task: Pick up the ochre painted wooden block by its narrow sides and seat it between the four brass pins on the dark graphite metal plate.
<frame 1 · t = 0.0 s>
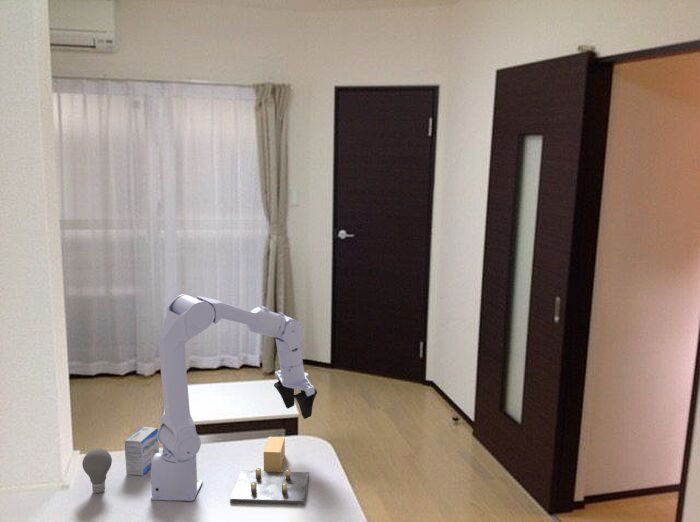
hand: (298, 411, 156), 11 cm above the table, tool pointing down, fingers open, 7 cm apart
ochre block: (274, 463, 152), on the table
chassis plate: (271, 489, 140), on the table
medicine box: (143, 468, 149), on the table
light bulb: (99, 492, 138), on the table
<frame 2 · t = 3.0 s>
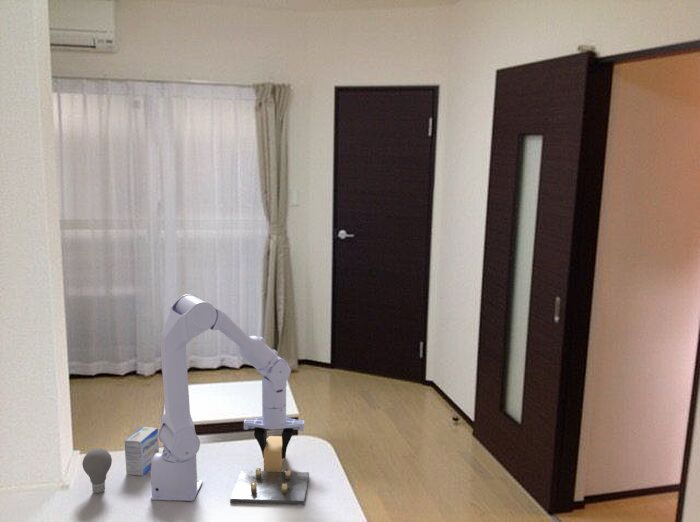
hand: (274, 456, 152), 2 cm above the table, tool pointing down, fingers closed on ochre block, 4 cm apart
ochre block: (274, 462, 152), on the table, touching gripper
everything else where it was.
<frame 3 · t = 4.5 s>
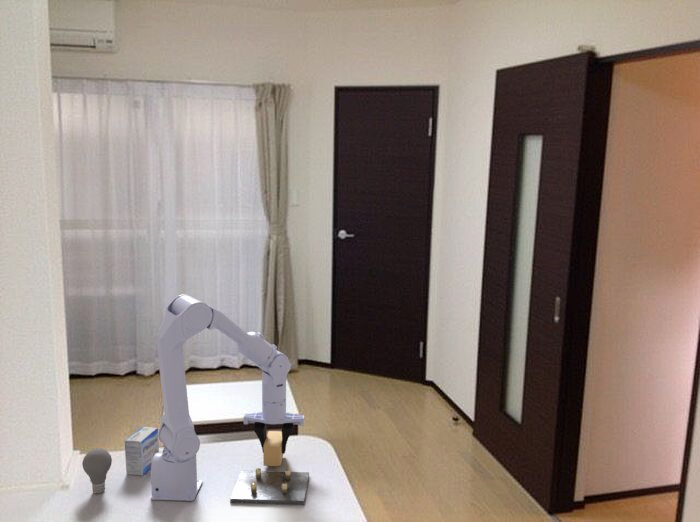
hand: (274, 451, 152), 3 cm above the table, tool pointing down, fingers closed on ochre block, 4 cm apart
ochre block: (274, 457, 152), point 1 cm above the table, touching gripper
everything else where it was.
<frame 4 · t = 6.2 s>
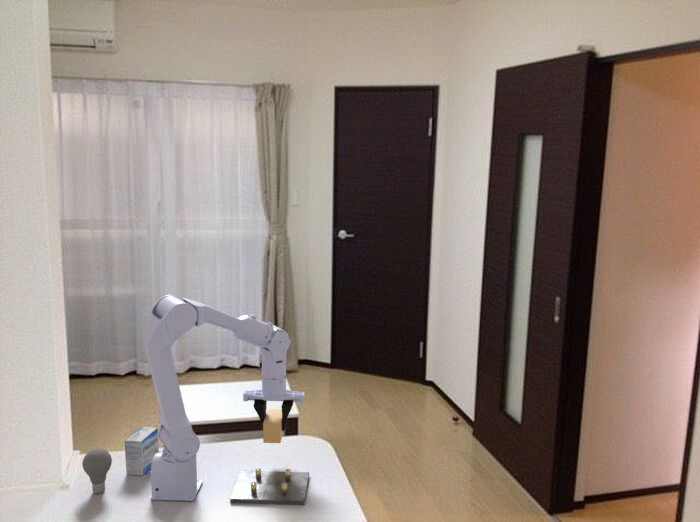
hand: (274, 429, 150), 9 cm above the table, tool pointing down, fingers closed on ochre block, 4 cm apart
ochre block: (274, 435, 151), point 7 cm above the table, touching gripper
everything else where it was.
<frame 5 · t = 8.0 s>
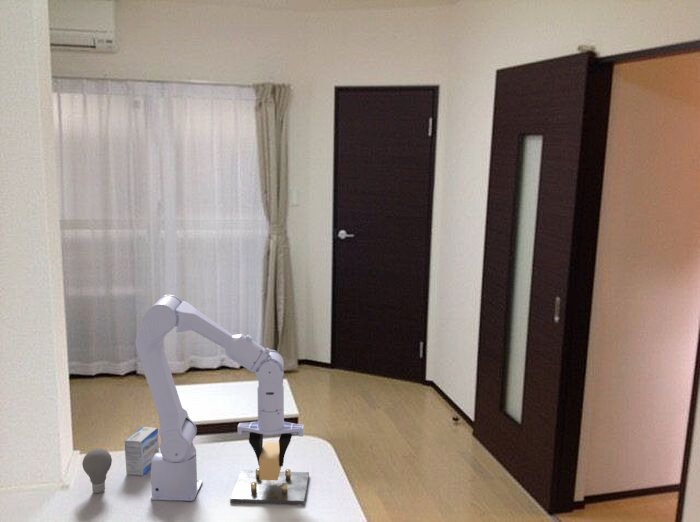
hand: (271, 464, 139), 6 cm above the table, tool pointing down, fingers closed on ochre block, 4 cm apart
ochre block: (271, 470, 139), point 4 cm above the table, touching gripper
everything else where it was.
when the fingers open (4 cm above the table, at t = 9.6 s): ochre block drops 1 cm, resting on chassis plate.
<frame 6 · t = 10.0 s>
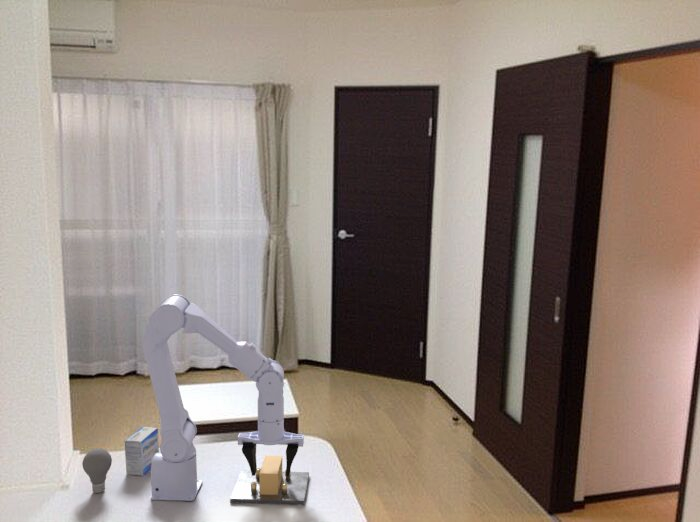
hand: (271, 473, 140), 4 cm above the table, tool pointing down, fingers open, 7 cm apart
ochre block: (271, 484, 140), point 1 cm above the table, touching chassis plate
everything else where it was.
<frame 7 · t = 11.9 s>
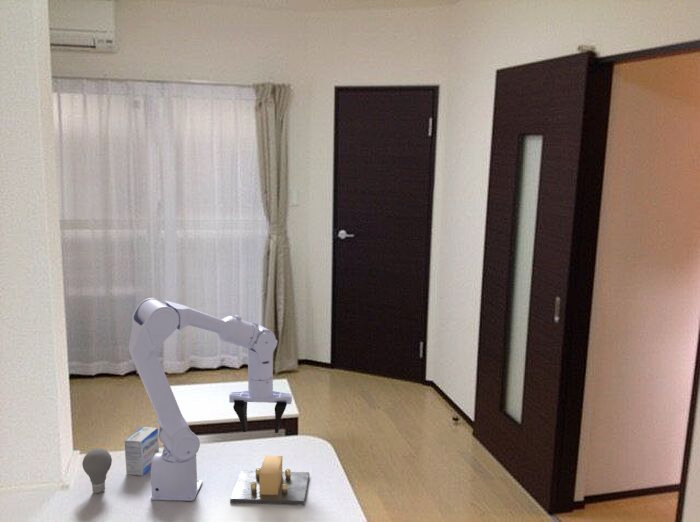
hand: (261, 430, 148), 9 cm above the table, tool pointing down, fingers open, 7 cm apart
nothing on the table moved.
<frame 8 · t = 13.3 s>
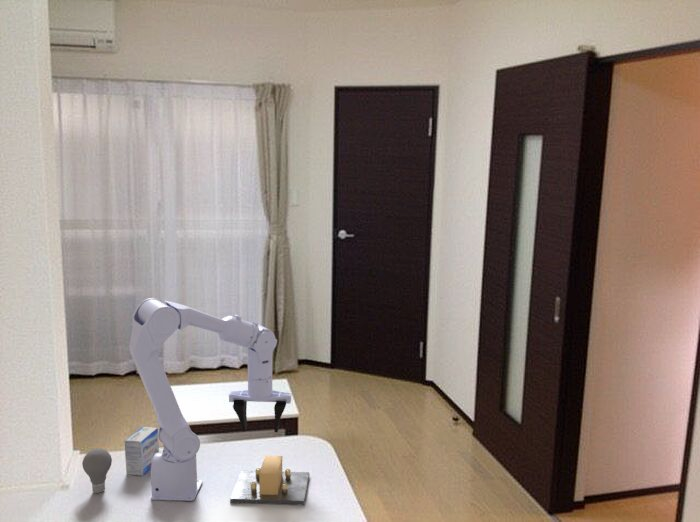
hand: (260, 430, 148), 9 cm above the table, tool pointing down, fingers open, 7 cm apart
nothing on the table moved.
at the end: ochre block 0.0 cm off-centre on the chassis plate, point 1.0 cm above the chassis plate's base; ochre block tilted 0°; the gripper is holding nothing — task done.
